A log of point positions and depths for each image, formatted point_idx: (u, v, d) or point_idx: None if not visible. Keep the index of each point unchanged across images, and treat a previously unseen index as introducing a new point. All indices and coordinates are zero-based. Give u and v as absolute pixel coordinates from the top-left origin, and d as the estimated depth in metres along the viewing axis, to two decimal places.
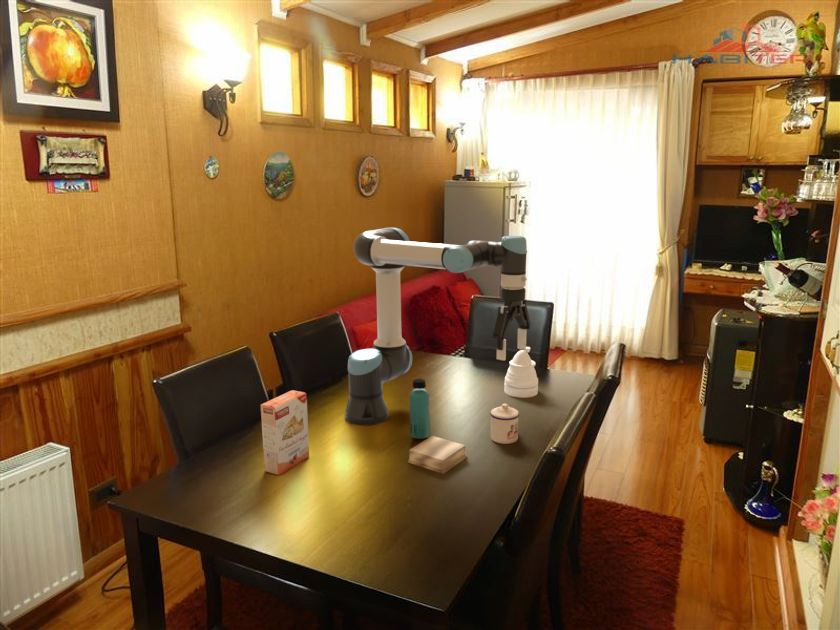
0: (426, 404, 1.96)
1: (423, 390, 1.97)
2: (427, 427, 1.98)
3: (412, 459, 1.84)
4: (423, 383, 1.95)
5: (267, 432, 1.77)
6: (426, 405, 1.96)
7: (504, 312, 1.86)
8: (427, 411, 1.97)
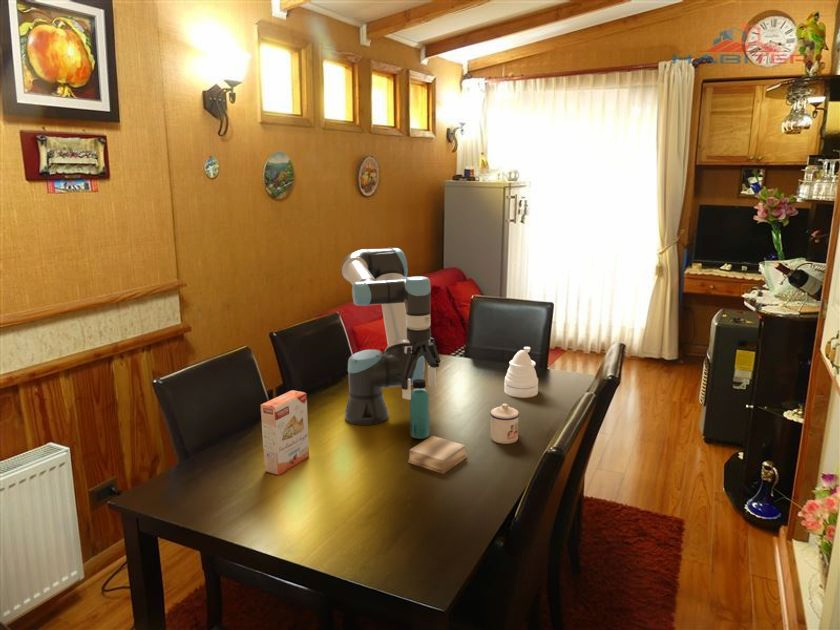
0: (426, 404, 1.96)
1: (423, 390, 1.97)
2: (427, 427, 1.98)
3: (412, 459, 1.84)
4: (423, 383, 1.95)
5: (267, 432, 1.77)
6: (426, 405, 1.96)
7: (407, 352, 1.88)
8: (428, 411, 1.97)
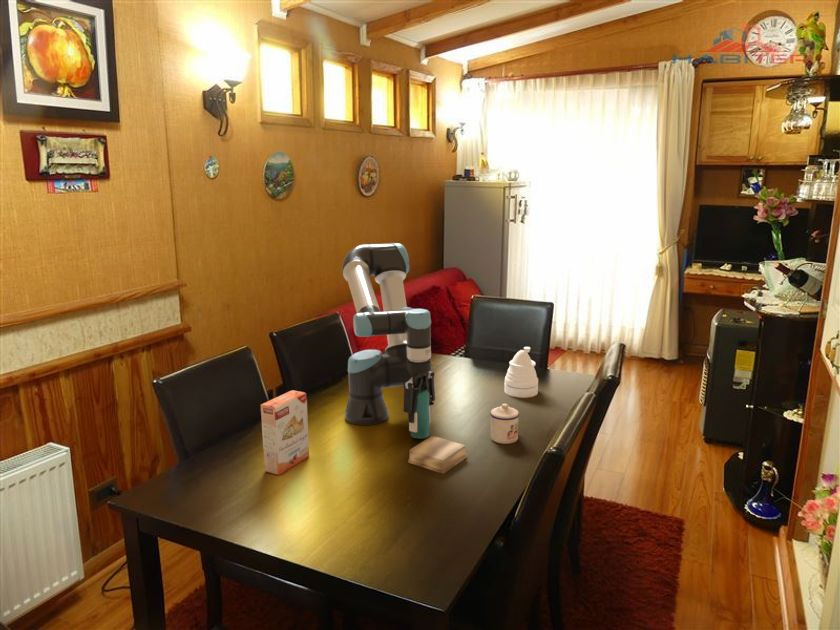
0: (426, 404, 1.96)
1: (423, 390, 1.97)
2: (427, 427, 1.98)
3: (412, 459, 1.84)
4: (423, 383, 1.95)
5: (267, 432, 1.77)
6: (426, 405, 1.96)
7: (409, 388, 1.91)
8: (428, 411, 1.97)
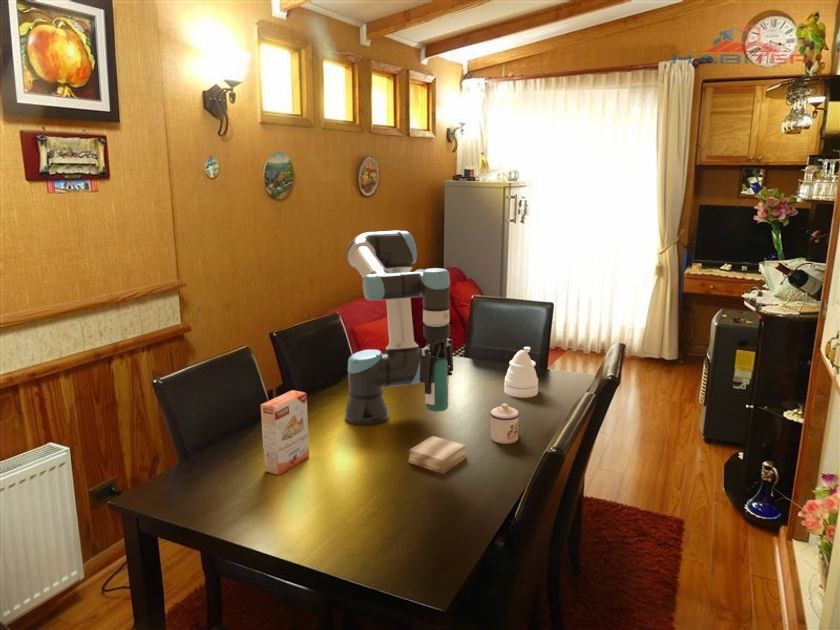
0: (444, 373, 1.78)
1: (441, 358, 1.79)
2: (445, 399, 1.80)
3: (412, 459, 1.84)
4: (441, 350, 1.77)
5: (267, 432, 1.77)
6: (444, 375, 1.78)
7: (426, 355, 1.73)
8: (446, 382, 1.79)
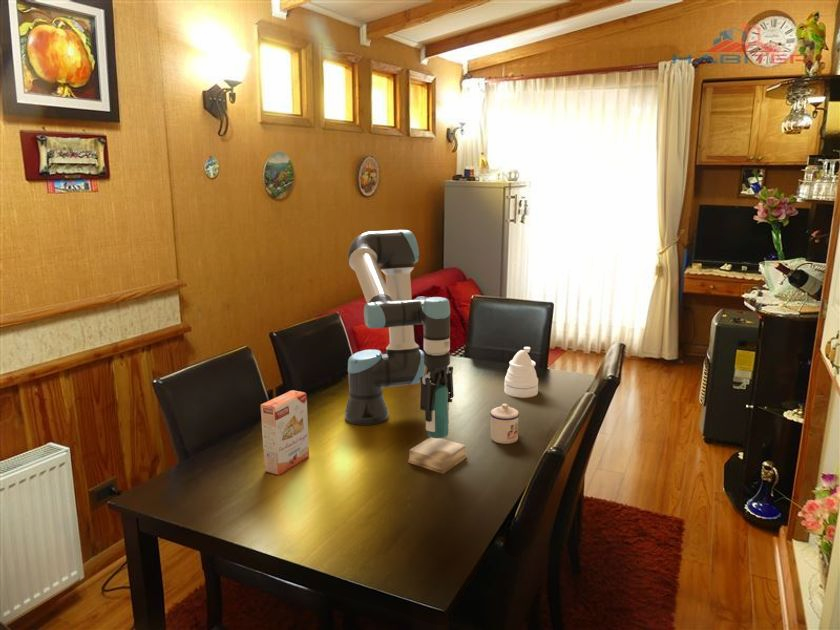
0: (445, 400, 1.80)
1: (441, 386, 1.81)
2: (445, 426, 1.82)
3: (412, 459, 1.84)
4: (441, 378, 1.79)
5: (267, 432, 1.77)
6: (445, 402, 1.80)
7: (426, 384, 1.75)
8: (446, 409, 1.81)
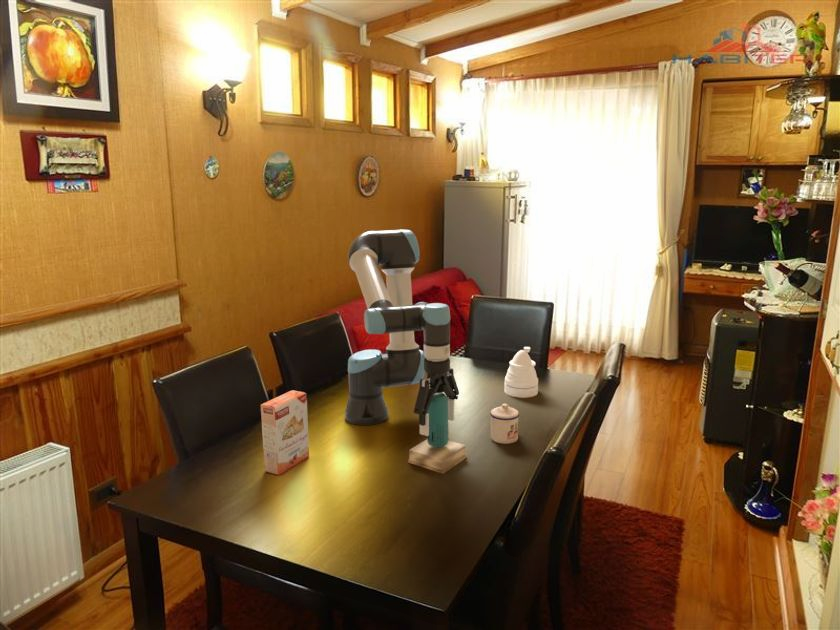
0: (445, 409, 1.81)
1: (442, 394, 1.82)
2: (446, 435, 1.83)
3: (412, 459, 1.84)
4: (442, 387, 1.80)
5: (267, 432, 1.77)
6: (445, 411, 1.81)
7: (425, 386, 1.75)
8: (446, 418, 1.82)
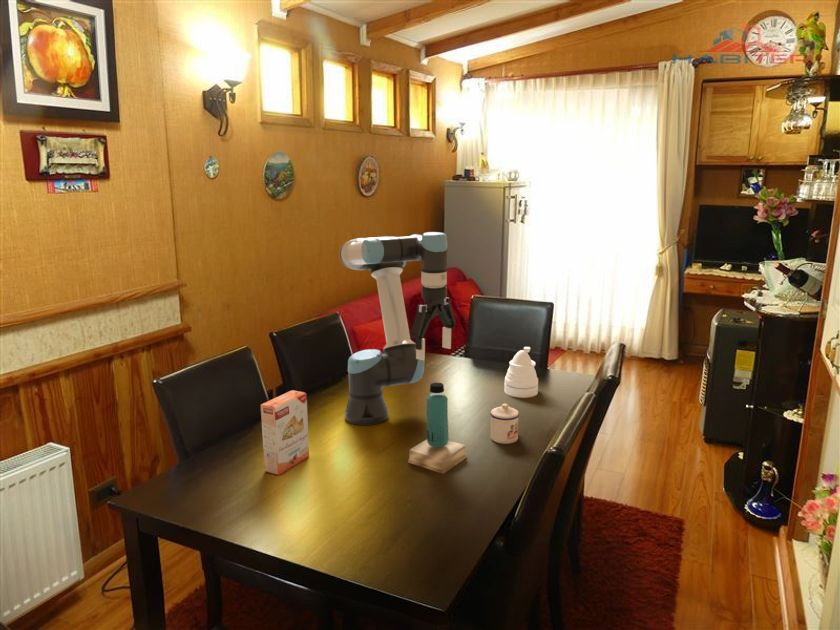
0: (445, 409, 1.81)
1: (441, 395, 1.82)
2: (445, 435, 1.83)
3: (412, 459, 1.84)
4: (441, 387, 1.80)
5: (267, 432, 1.77)
6: (444, 411, 1.81)
7: (422, 311, 1.81)
8: (446, 418, 1.82)
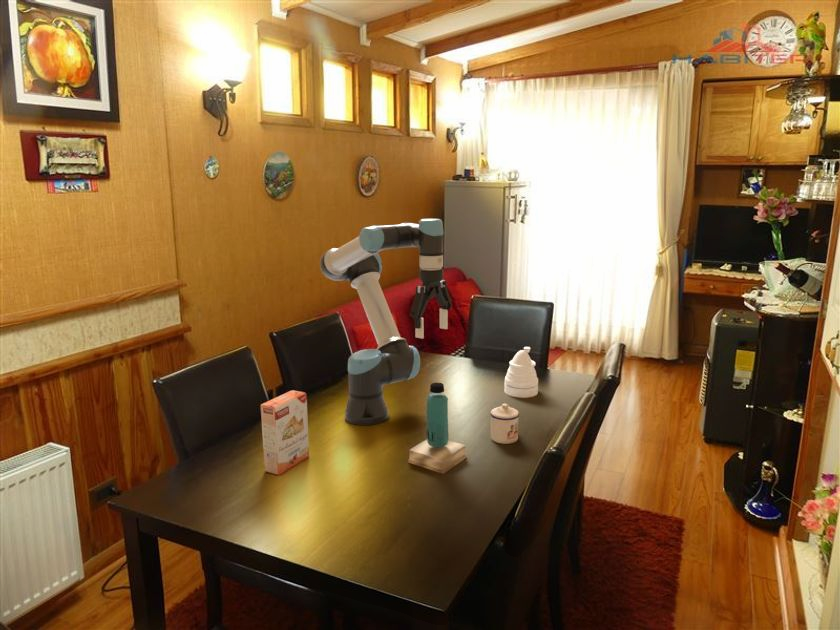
0: (445, 409, 1.81)
1: (441, 395, 1.82)
2: (445, 435, 1.83)
3: (412, 459, 1.84)
4: (441, 387, 1.80)
5: (267, 432, 1.77)
6: (445, 411, 1.81)
7: (421, 292, 1.93)
8: (446, 418, 1.82)
